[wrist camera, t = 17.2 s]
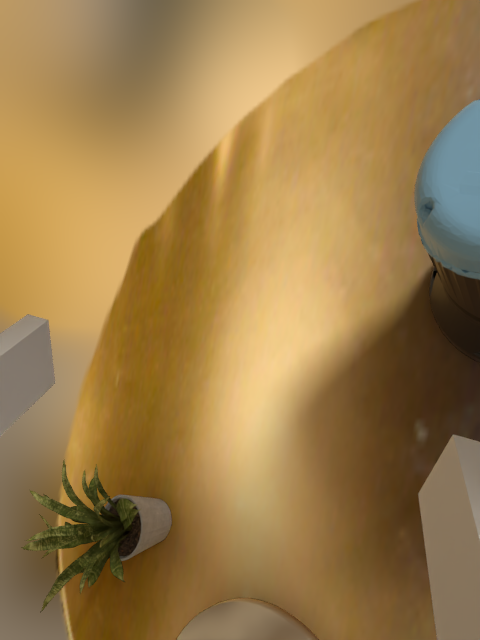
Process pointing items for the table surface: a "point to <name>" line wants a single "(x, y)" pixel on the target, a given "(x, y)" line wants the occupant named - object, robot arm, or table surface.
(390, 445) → the table surface
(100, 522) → the house plant
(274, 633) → the turntable platter
